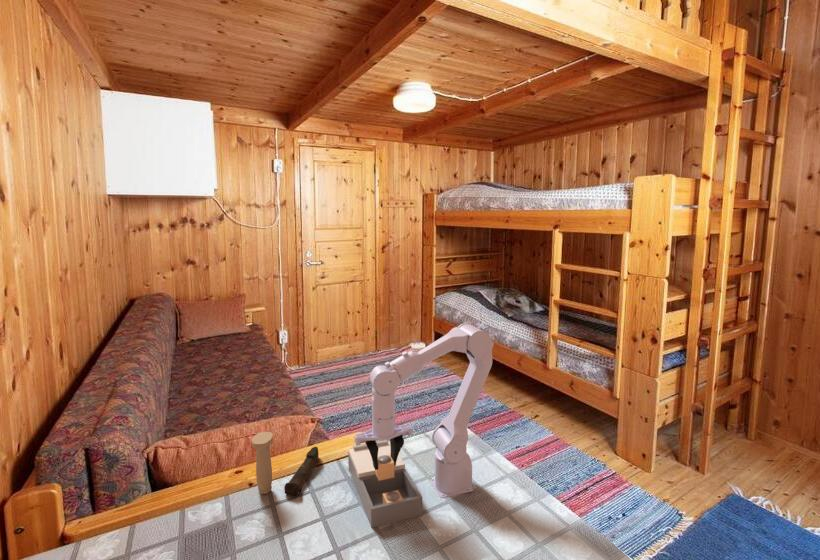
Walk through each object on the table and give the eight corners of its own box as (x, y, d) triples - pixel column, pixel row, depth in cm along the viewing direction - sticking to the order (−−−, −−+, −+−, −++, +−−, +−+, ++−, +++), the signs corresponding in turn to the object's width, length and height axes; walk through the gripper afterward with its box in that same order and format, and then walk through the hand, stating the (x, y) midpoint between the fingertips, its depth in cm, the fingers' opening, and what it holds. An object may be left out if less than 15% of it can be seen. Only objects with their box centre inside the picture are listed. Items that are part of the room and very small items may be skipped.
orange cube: (394, 477, 107) (394, 461, 106) (378, 480, 106) (378, 464, 105) (389, 468, 111) (389, 453, 110) (374, 471, 109) (374, 456, 109)
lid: (390, 445, 125) (390, 438, 125) (405, 468, 114) (405, 461, 113) (348, 453, 121) (348, 446, 121) (358, 478, 109) (358, 470, 109)
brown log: (298, 498, 110) (297, 482, 109) (284, 496, 111) (283, 480, 110) (326, 459, 128) (326, 444, 128) (314, 457, 129) (313, 443, 128)
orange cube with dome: (398, 505, 106) (398, 489, 106) (403, 515, 102) (403, 498, 102) (382, 508, 105) (382, 492, 104) (387, 519, 101) (387, 502, 100)
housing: (390, 461, 126) (390, 445, 126) (422, 516, 103) (422, 497, 102) (348, 469, 122) (348, 452, 122) (371, 529, 98) (371, 509, 98)
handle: (252, 499, 109) (249, 444, 107) (259, 484, 115) (256, 432, 113) (271, 498, 110) (268, 443, 107) (277, 483, 116) (274, 431, 114)
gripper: (405, 403, 112) (406, 452, 114) (351, 412, 107) (352, 463, 109) (415, 415, 105) (415, 466, 107) (357, 424, 101) (359, 478, 102)
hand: (384, 465), depth 108 cm, fingers closed on orange cube, 4 cm apart
